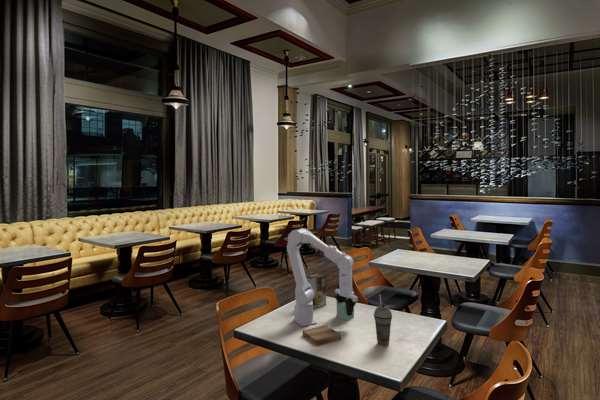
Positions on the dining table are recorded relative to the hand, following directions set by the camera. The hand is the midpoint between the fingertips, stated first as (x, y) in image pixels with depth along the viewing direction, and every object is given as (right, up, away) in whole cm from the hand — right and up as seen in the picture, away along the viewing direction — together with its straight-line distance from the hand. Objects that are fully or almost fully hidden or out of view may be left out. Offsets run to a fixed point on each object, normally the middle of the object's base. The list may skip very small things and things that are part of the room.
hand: (345, 313), depth 162 cm
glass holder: (+2, -7, +18) cm, 19 cm away
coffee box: (-12, -6, +33) cm, 36 cm away
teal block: (0, -2, 0) cm, 2 cm away
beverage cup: (+13, -8, -16) cm, 22 cm away
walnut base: (-11, -8, -8) cm, 16 cm away
